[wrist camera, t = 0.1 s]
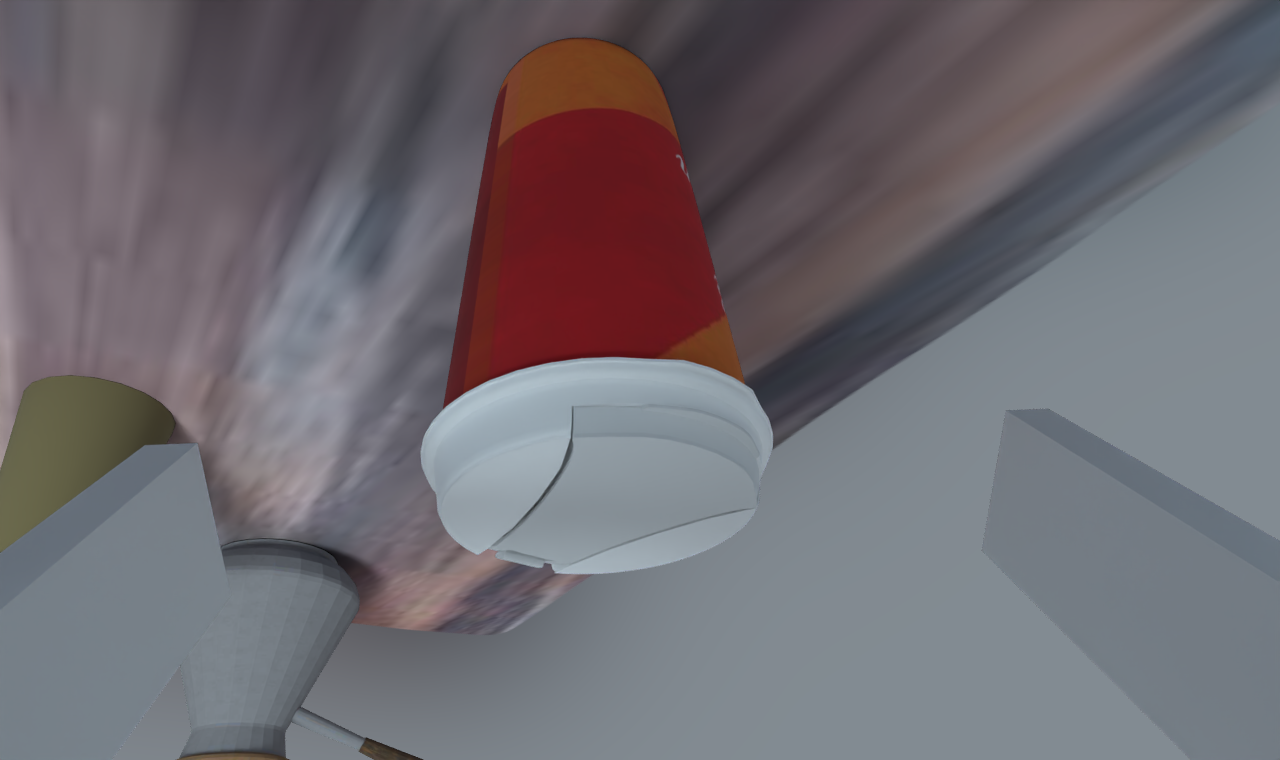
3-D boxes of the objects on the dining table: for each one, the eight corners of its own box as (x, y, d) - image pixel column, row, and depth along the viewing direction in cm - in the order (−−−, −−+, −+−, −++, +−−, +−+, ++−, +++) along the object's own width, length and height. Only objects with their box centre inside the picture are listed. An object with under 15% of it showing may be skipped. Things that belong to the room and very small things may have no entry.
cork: (203, 420, 35) (128, 651, 29) (125, 457, 38) (40, 679, 31) (73, 359, 31) (-49, 615, 25) (-6, 404, 33) (-137, 650, 27)
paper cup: (597, 241, 28) (620, 601, 20) (415, 133, 23) (346, 541, 15) (752, 102, 23) (863, 492, 15) (563, -66, 19) (578, 361, 11)
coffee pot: (184, 583, 52) (111, 828, 43) (179, 516, 43) (88, 803, 35) (478, 604, 60) (467, 813, 51) (521, 551, 52) (517, 790, 43)
